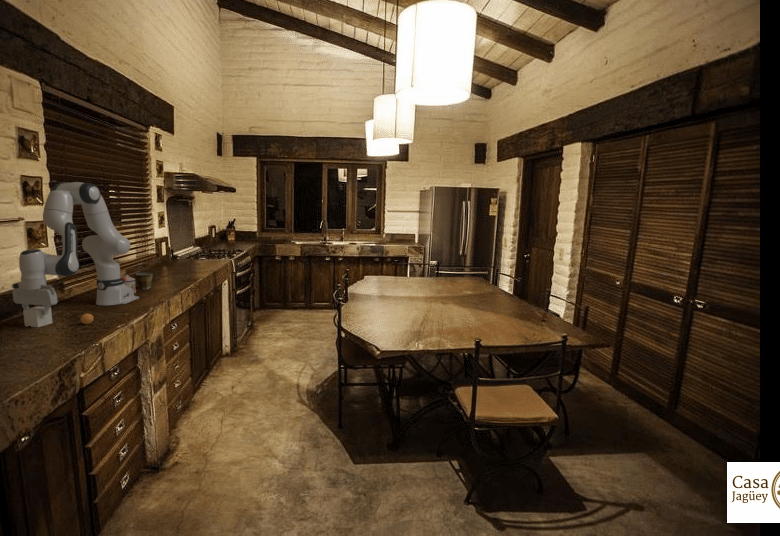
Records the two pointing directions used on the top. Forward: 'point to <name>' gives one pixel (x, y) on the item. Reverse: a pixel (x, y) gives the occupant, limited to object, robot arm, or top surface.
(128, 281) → the teacup with lid
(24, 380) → the top surface
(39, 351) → the top surface
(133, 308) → the top surface
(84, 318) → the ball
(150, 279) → the ceramic cup
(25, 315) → the grey matte cube
